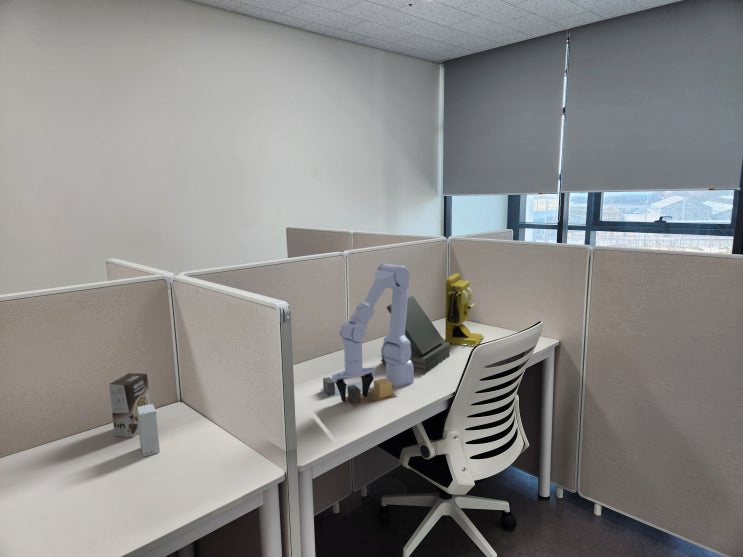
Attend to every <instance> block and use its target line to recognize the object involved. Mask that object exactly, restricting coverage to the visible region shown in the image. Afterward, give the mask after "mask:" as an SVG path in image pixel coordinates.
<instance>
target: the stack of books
mask: <svg viewBox="0 0 743 557" xmlns="http://www.w3.org/2000/svg"><path fill="white" fill-rule="evenodd" d="M391 307H392V303H391V304H388V305H387V306H386V310H387V311H388V312H389V314H390V315H391ZM405 336H406V338H407V339H408V340H409V341H410V348H411V357H410V359H409V360H411V362H412V364H413V367H414V372H415V373H418V374H424V375H426V374H428V373H429V372H430V371H432V369H435V368H436V367H437V366H439V365H440V364H442V363H443V362H444V361H445V359H446V358H447V359H448V358H450V357H449V356H450V355H451V353H450V352H451V349H450V345H451V344H450V343H446V342H445V339H444V337H443V336H441V334H440V332H439V331H438V329H437V328H436V327H435V325H434V324H433V323H432V321H431V320H430V317H429V316H428V315H427V314H426V312H425V311H424V309H423V308H422V306H421V305H420V304H419V302H418V300H416V298H415V296H414V295H411V296H408V300H407V312H406V324H405ZM380 357H381V359H380V360H381V361H380V362H381V365H382V366H385V367H386V361H385V358H384V357H383V356H382V354H381V355H380ZM447 359H446V360H447ZM443 360H444V361H443ZM442 361H443V362H442ZM439 363H440V364H439ZM438 364H439V365H438Z"/></svg>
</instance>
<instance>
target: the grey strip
mask: <svg viewBox="0 0 743 557" xmlns="http://www.w3.org/2000/svg"><path fill="white" fill-rule="evenodd" d="M322 383H323V384H322V388H320V389H319V390H320V391H321V393H322V394H323V395H324V396H325V397H326V398H327V399H330V398H334V397H338V396H340V392H339V390H338V387H337V385H336V383H335V382H333V381H332V377H330V376H328V377H324V378H322ZM346 384H347V385H346V395H348V386H349V385H355V386H357V387H358V388H359V389H360V390H361V392H362V380H359V381H354V382H350V383H346ZM369 390H372V388H371V386H370V387H369ZM340 397H341V396H340Z"/></svg>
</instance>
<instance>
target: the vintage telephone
mask: <svg viewBox="0 0 743 557" xmlns="http://www.w3.org/2000/svg"><path fill="white" fill-rule="evenodd" d="M472 297H473V290H472V288H471V287H470V281H469V280H462V279H461V274H460V273H459V272H456V273H454V274H452V275H451V276H448V277H447V278H446V280H445V335H444V336H445V339H444V342H446V343H455V344H454V345H456V344H458V345H457V346H459V347H460V348H465V347H469V346H468V345H473V346H475V345H477V344H478V345H479V344H480V343H481V342H480V340H481V339H482V337H483V336H484V335H483V334H482V333H476V332H475V333H474V332H471V331H470V329H469V328H468V327H467V326H466V325H465V324H463V323H464V322H465V321H467V319H469V315H470V309H472V307H474V306H475V305H476V304H475V303H474V302H473V303H472V304H470V301H471V300H472ZM482 340H483V339H482ZM482 340H481V341H482ZM479 342H480V343H479ZM459 344H467V345H466V346H464V345H463V346H462V345H459ZM478 345H477V346H478Z"/></svg>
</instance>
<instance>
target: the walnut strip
mask: <svg viewBox="0 0 743 557" xmlns="http://www.w3.org/2000/svg"><path fill="white" fill-rule="evenodd" d="M394 398H398V396H397V394H395V393H393V392H392V396H387V397H383V398H379V397H378V396H377V395H375V394H374V390H372V391H368V394H367V397H364V396H363V394H362V391H361V390H360V389H359V388H358V387H357V386H355V385H349V386H348V394H347V396H346V402H348V403H349V404H350V405H351V406H352V407H357V406H361V405H362V406H363V405H366V404H371V403H376V402H381V401H385V400H390V399H394Z"/></svg>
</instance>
